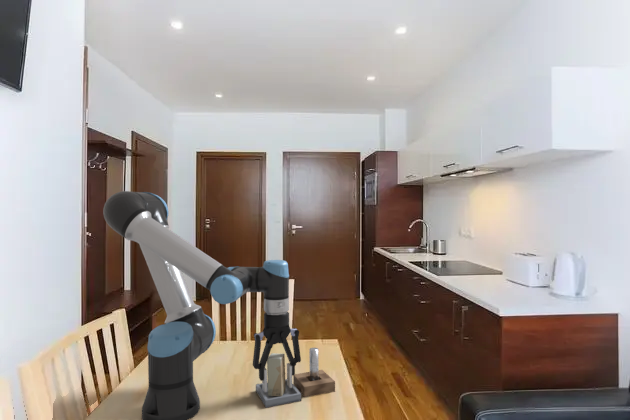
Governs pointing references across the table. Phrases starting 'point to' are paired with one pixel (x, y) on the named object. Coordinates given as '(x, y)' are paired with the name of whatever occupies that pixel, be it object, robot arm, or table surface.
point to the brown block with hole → (313, 384)
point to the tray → (287, 397)
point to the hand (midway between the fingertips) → (277, 388)
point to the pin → (314, 364)
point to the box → (276, 374)
